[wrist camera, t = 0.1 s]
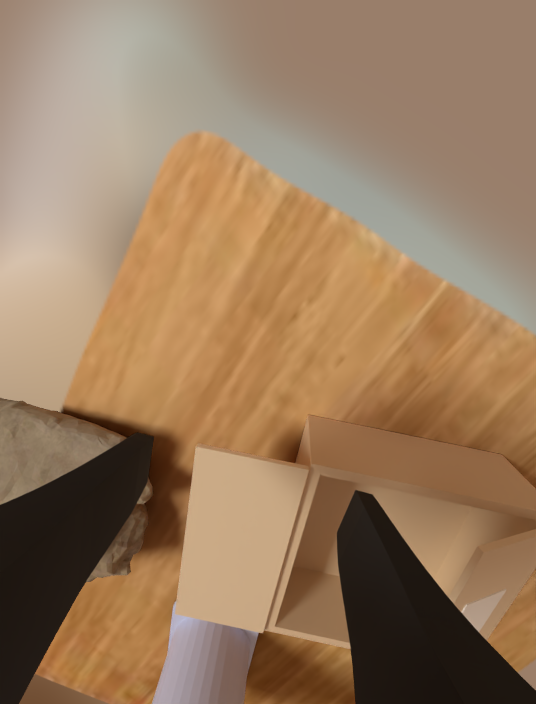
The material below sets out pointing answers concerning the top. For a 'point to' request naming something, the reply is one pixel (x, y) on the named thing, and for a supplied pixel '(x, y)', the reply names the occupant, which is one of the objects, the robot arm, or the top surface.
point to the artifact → (62, 467)
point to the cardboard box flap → (494, 580)
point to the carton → (333, 522)
